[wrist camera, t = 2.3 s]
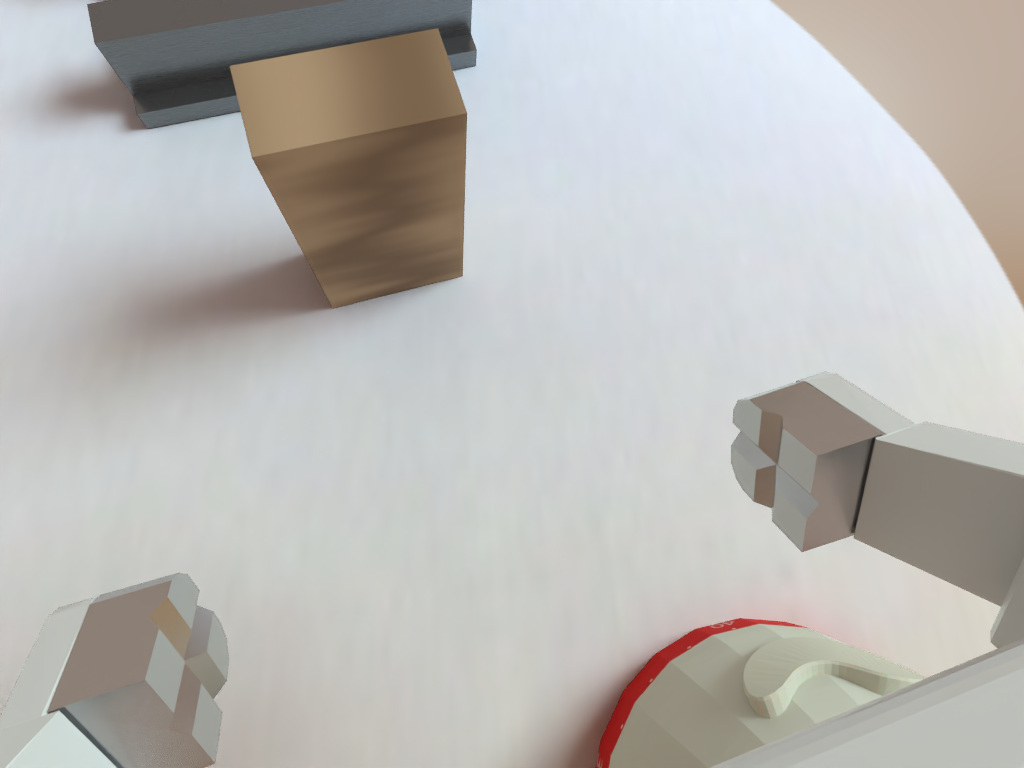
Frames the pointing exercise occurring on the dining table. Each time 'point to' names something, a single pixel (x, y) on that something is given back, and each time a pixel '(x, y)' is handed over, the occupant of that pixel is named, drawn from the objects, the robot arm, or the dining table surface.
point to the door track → (247, 42)
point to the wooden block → (363, 160)
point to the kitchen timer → (739, 693)
